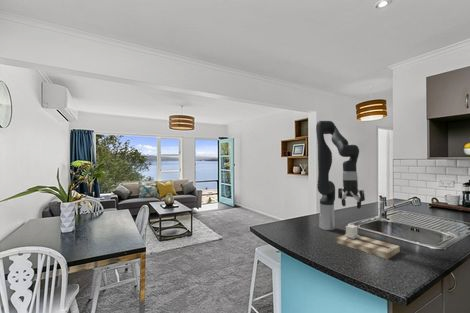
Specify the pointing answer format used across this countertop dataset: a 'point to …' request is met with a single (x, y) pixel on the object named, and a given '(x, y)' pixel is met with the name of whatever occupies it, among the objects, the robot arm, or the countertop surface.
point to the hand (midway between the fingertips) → (351, 207)
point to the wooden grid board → (370, 246)
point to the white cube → (351, 231)
